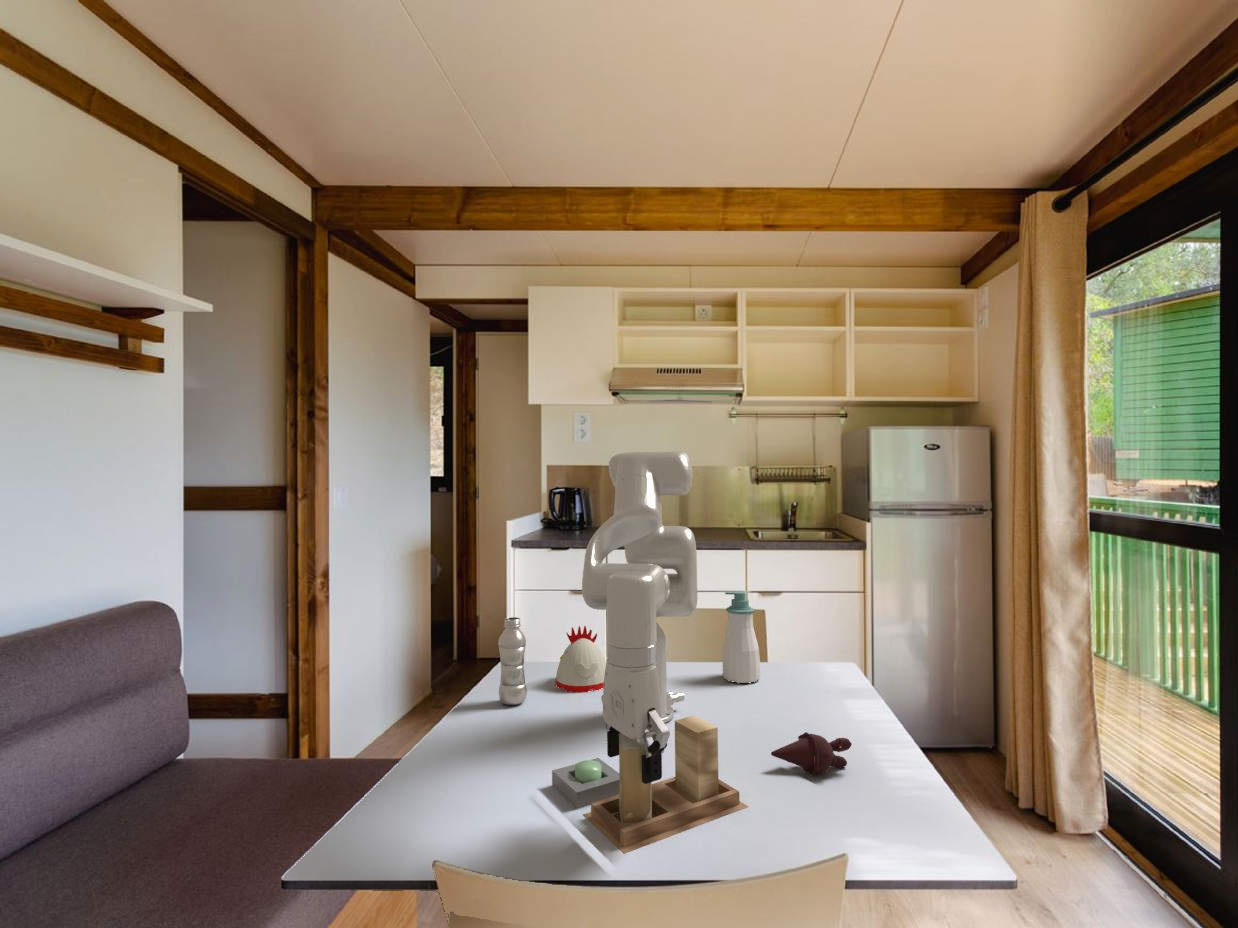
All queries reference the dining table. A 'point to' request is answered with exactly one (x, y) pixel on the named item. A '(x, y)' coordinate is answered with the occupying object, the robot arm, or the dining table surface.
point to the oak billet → (696, 759)
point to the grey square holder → (586, 785)
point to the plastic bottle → (512, 663)
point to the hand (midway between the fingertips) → (633, 767)
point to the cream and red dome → (581, 664)
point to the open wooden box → (662, 815)
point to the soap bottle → (740, 642)
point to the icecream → (814, 753)
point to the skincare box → (632, 783)
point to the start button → (587, 771)
